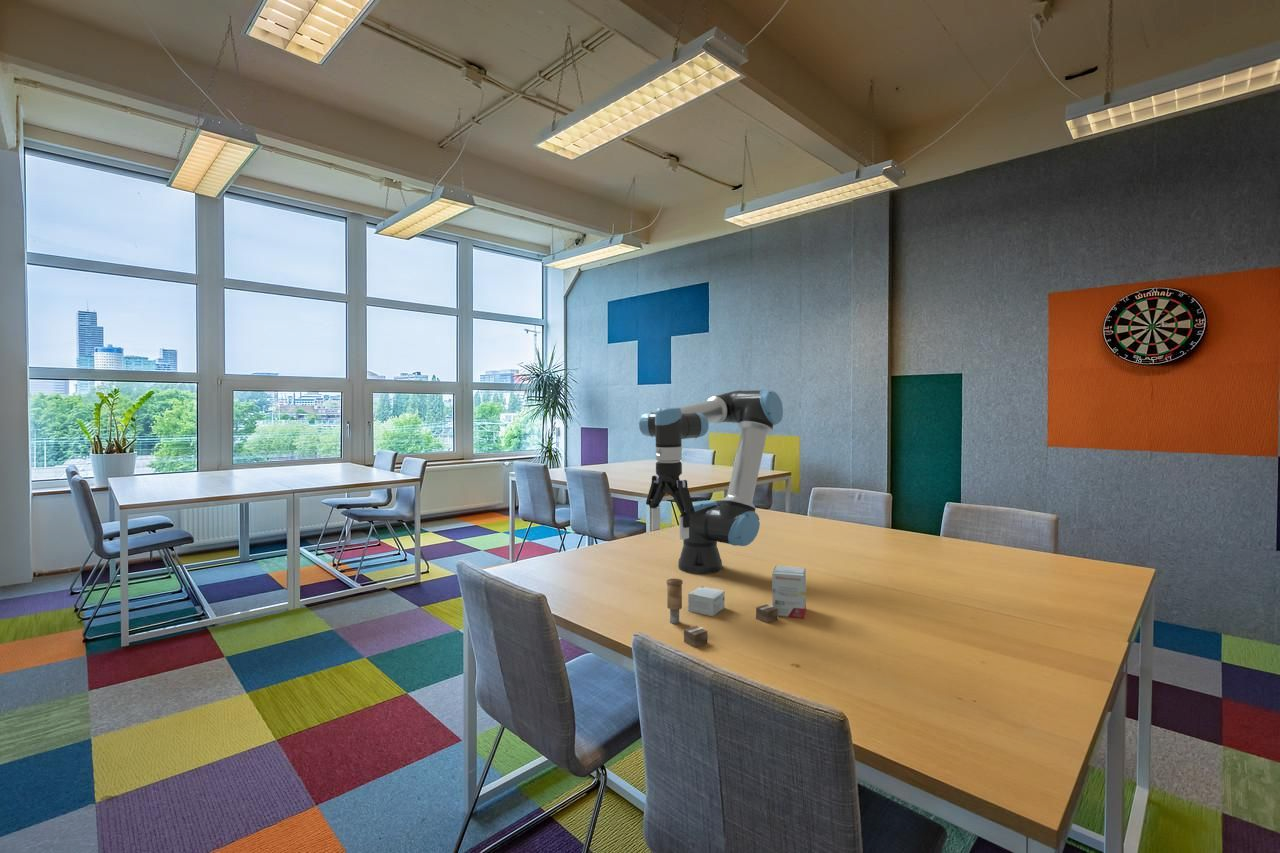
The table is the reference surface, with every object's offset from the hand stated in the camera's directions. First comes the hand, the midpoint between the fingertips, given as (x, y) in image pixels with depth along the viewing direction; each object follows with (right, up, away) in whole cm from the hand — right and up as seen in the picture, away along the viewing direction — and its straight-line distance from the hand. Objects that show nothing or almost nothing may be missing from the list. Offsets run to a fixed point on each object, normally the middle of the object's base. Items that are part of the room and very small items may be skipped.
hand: (669, 534), depth 168 cm
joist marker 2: (+25, -20, -14) cm, 35 cm away
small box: (+10, -20, -6) cm, 23 cm away
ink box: (+33, -20, -8) cm, 39 cm away
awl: (+1, -20, -15) cm, 25 cm away
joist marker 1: (+5, -21, -28) cm, 35 cm away
